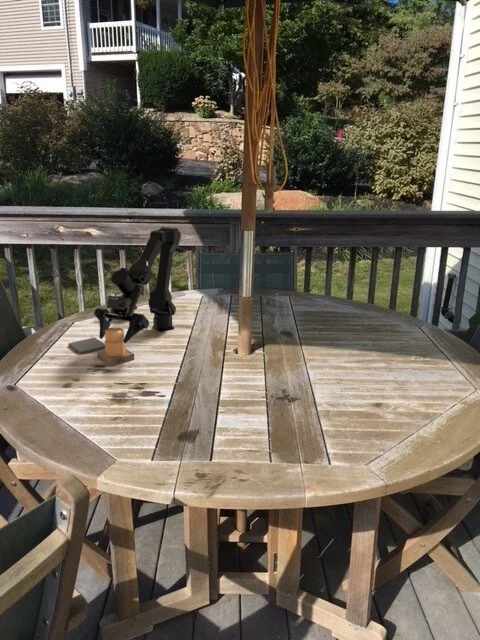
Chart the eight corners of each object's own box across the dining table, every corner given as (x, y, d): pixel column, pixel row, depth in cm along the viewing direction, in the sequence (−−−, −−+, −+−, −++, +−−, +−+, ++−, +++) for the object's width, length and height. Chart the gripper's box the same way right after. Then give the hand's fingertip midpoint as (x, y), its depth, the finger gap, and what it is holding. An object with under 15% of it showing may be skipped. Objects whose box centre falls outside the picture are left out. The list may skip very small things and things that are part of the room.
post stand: (121, 351, 187) (120, 335, 185) (134, 359, 180) (133, 342, 179) (97, 357, 181) (96, 340, 179) (109, 365, 175) (108, 348, 173)
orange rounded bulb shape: (119, 348, 184) (118, 326, 182) (127, 353, 180) (126, 331, 177) (103, 352, 181) (101, 329, 178) (111, 357, 176) (110, 334, 174)
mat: (94, 339, 197) (94, 337, 196) (107, 348, 189) (107, 345, 189) (68, 345, 190) (68, 343, 190) (80, 354, 183) (80, 351, 183)
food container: (141, 314, 225) (140, 291, 222) (137, 319, 220) (136, 295, 216) (112, 313, 227) (111, 290, 223) (107, 317, 221) (106, 294, 217)
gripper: (94, 284, 180) (76, 325, 174) (143, 291, 174) (126, 334, 168) (109, 301, 189) (93, 340, 183) (156, 307, 183) (140, 348, 177)
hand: (112, 340), depth 178 cm, fingers open, 9 cm apart
